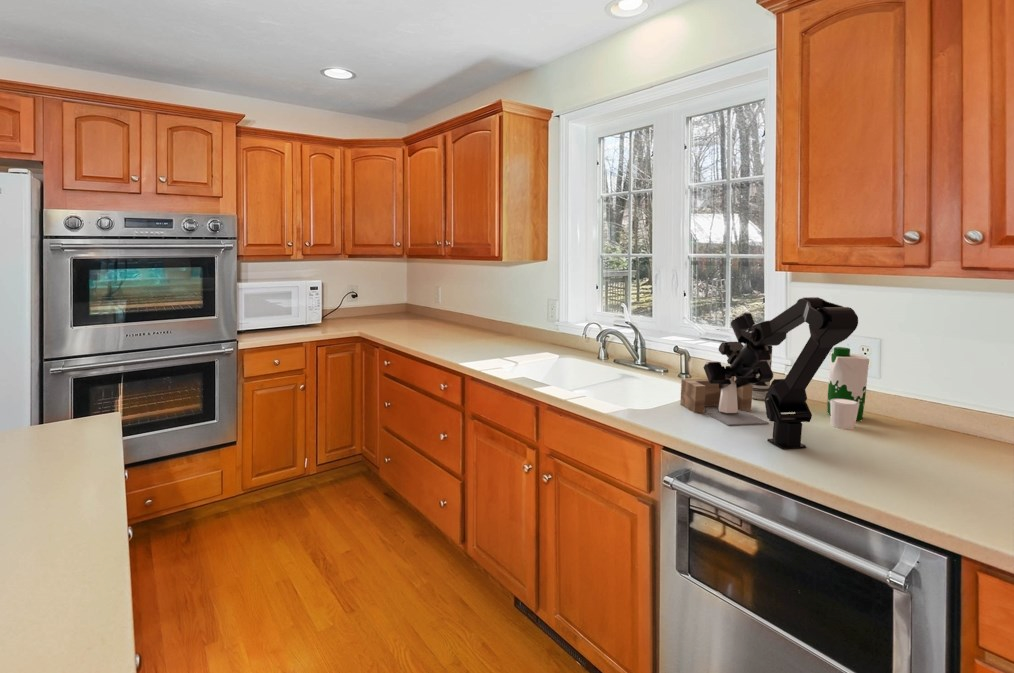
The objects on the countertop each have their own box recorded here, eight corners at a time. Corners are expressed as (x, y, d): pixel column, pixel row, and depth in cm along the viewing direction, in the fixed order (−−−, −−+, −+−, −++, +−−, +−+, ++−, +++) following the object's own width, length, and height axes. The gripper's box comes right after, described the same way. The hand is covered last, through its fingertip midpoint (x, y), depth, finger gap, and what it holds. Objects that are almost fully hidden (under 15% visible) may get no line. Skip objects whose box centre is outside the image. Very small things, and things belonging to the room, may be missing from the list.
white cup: (849, 422, 159) (851, 398, 158) (862, 430, 152) (864, 404, 151) (823, 422, 159) (825, 397, 158) (835, 429, 152) (837, 404, 151)
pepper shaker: (742, 412, 165) (743, 375, 164) (726, 414, 163) (728, 376, 162) (729, 408, 170) (731, 371, 169) (714, 409, 169) (715, 372, 167)
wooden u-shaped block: (751, 410, 171) (752, 384, 170) (694, 412, 168) (696, 386, 167) (734, 402, 180) (735, 377, 179) (680, 404, 177) (681, 379, 176)
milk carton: (823, 411, 170) (828, 345, 167) (857, 414, 167) (863, 346, 164) (831, 419, 161) (837, 350, 159) (867, 422, 159) (873, 351, 156)
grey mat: (768, 424, 157) (768, 422, 157) (728, 425, 155) (728, 424, 155) (744, 412, 169) (744, 410, 169) (706, 413, 167) (706, 412, 167)
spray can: (748, 399, 184) (752, 338, 181) (745, 394, 190) (749, 335, 187) (770, 401, 182) (774, 339, 179) (767, 396, 188) (771, 336, 185)
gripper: (769, 332, 161) (746, 364, 174) (708, 334, 159) (688, 366, 171) (785, 365, 155) (759, 395, 167) (721, 366, 152) (699, 397, 164)
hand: (726, 387), depth 167 cm, fingers closed on pepper shaker, 4 cm apart
